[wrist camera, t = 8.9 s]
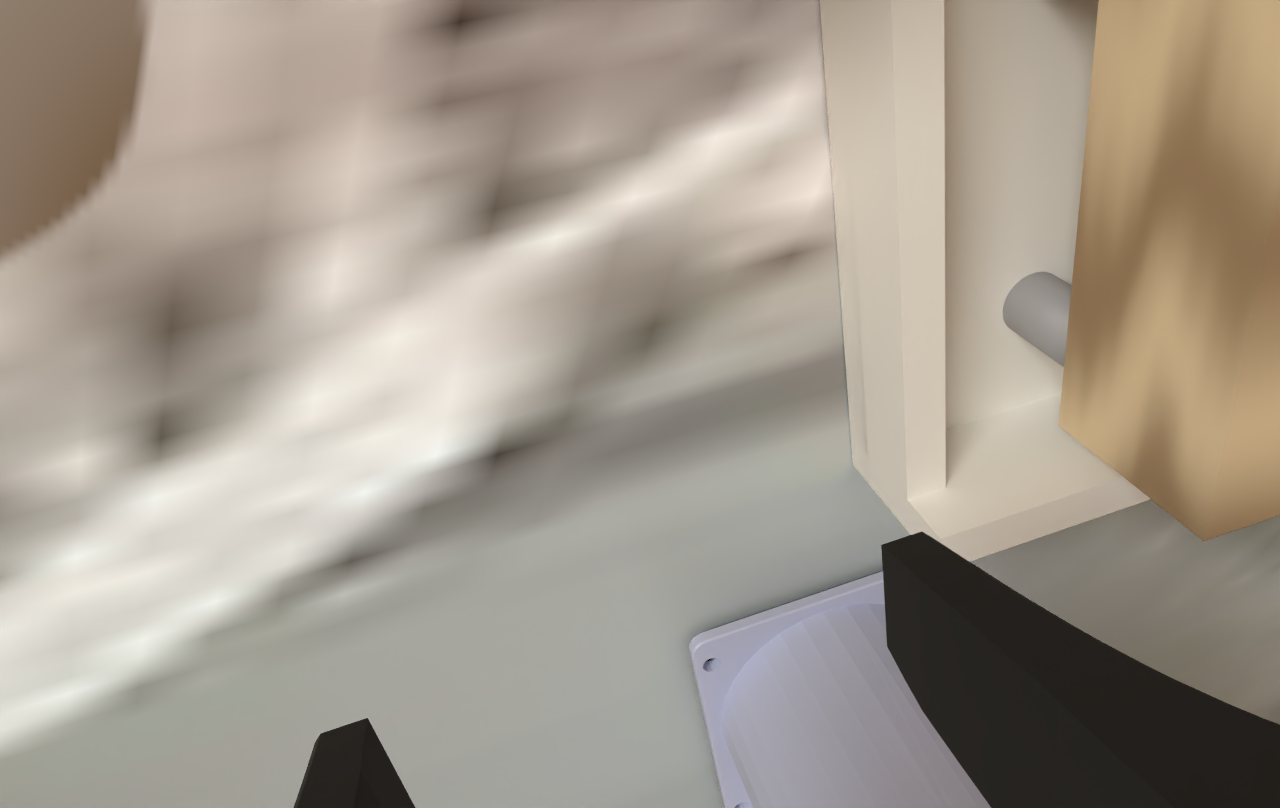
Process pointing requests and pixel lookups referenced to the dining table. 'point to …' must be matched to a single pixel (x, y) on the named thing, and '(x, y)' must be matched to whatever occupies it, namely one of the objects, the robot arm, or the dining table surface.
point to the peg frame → (963, 260)
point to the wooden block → (1181, 259)
